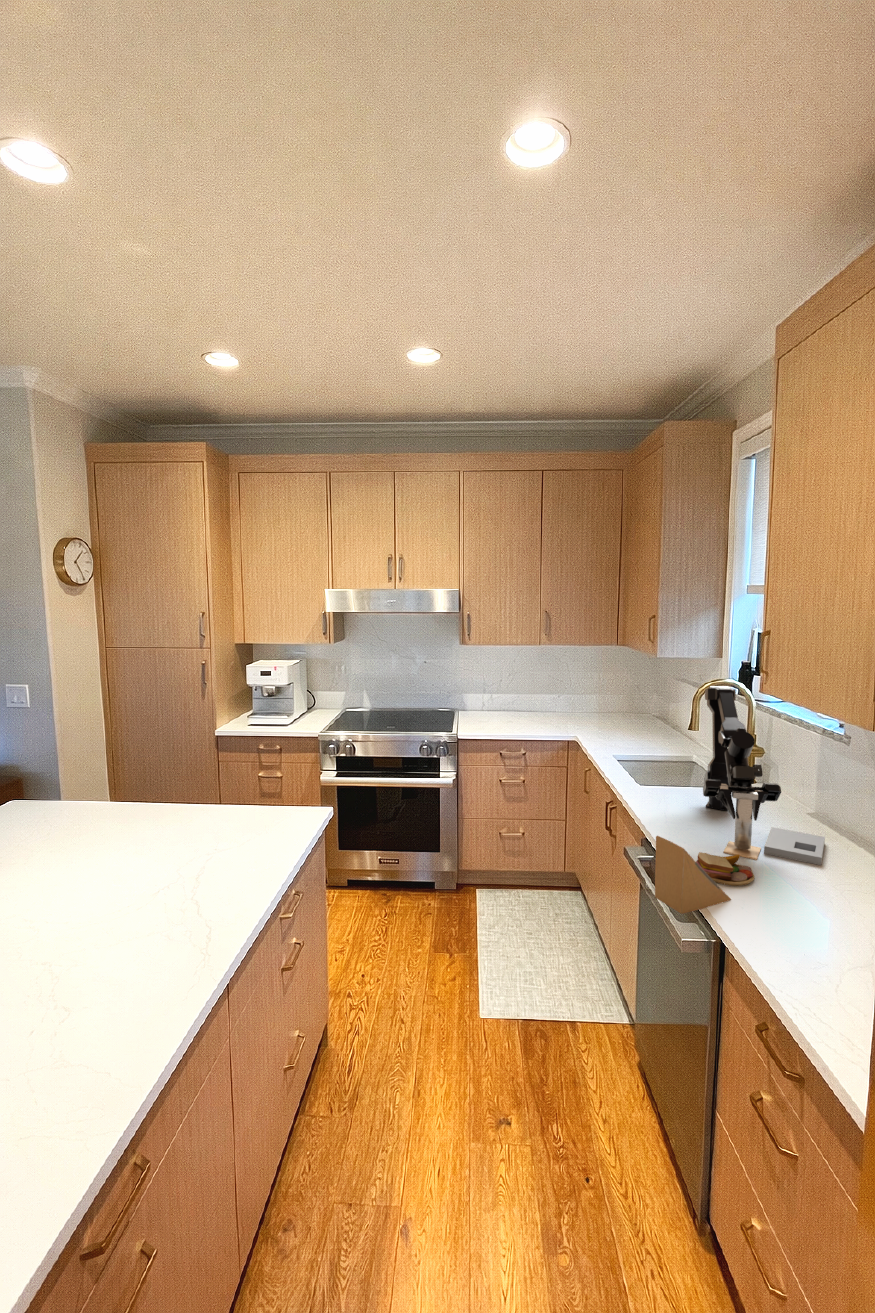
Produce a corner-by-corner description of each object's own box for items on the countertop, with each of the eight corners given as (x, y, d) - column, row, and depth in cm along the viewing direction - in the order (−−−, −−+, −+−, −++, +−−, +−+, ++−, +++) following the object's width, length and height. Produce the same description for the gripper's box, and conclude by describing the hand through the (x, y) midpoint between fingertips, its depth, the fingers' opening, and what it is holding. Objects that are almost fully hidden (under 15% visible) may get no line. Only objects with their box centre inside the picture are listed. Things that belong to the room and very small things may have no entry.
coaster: (728, 842, 170) (728, 841, 170) (761, 849, 165) (761, 847, 165) (723, 852, 163) (723, 851, 163) (756, 859, 159) (756, 858, 159)
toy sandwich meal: (759, 891, 143) (760, 872, 143) (697, 884, 147) (698, 865, 146) (748, 868, 155) (749, 850, 155) (691, 862, 159) (692, 844, 158)
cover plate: (771, 833, 176) (771, 827, 176) (824, 843, 168) (824, 836, 168) (763, 853, 163) (764, 846, 163) (821, 865, 155) (821, 857, 155)
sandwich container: (733, 900, 139) (736, 837, 137) (682, 915, 133) (684, 849, 131) (703, 884, 147) (706, 824, 145) (654, 897, 141) (655, 834, 139)
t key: (728, 842, 167) (731, 789, 165) (752, 844, 166) (755, 791, 164) (732, 848, 163) (734, 794, 162) (756, 850, 162) (759, 795, 160)
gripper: (706, 750, 168) (711, 803, 158) (781, 754, 163) (791, 808, 154) (700, 770, 176) (705, 821, 167) (771, 774, 172) (781, 827, 162)
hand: (744, 819), depth 162 cm, fingers closed on t key, 5 cm apart
